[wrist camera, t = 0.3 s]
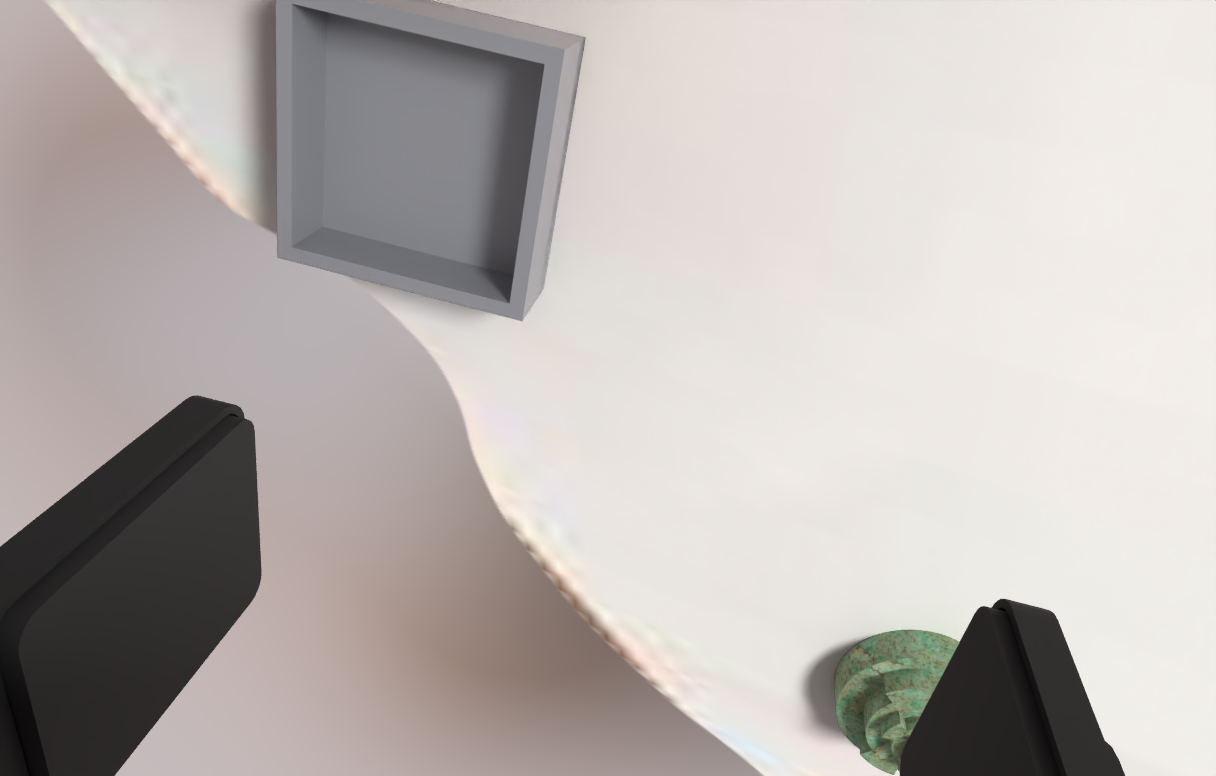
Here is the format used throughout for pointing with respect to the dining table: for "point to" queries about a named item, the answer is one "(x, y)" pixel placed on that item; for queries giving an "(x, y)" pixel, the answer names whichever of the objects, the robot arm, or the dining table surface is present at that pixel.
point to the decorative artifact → (888, 690)
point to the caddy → (422, 146)
